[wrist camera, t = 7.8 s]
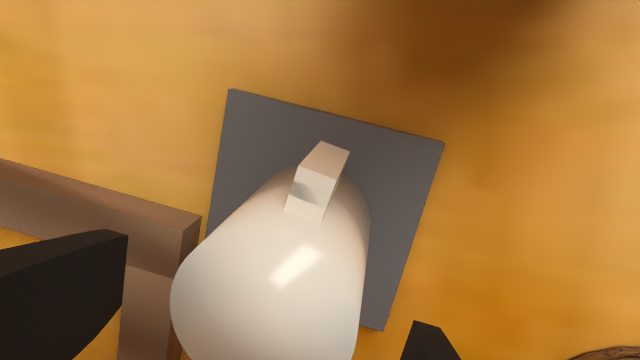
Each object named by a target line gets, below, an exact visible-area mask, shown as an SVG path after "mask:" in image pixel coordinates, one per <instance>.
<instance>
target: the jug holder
mask: <svg viewBox="0 0 640 360" xmlns="http://www.w3.org/2000/svg"><path fill="white" fill-rule="evenodd" d="M200 223H201V216H199V215H196V214H192V213H189V212H185V211H182V210H178V209H175V208H171V207H168V206H164V205H161V204H157V203H154V202H150V201H147V200H143V199H140V198H136V197H133V196H129V195H126V194H123V193H119V192H116V191H112V190H109V189H105V188H102V187H98V186H95V185H91V184H88V183H84V182H81V181H77V180H74V179H70V178H67V177H63V176H60V175H56V174H53V173H49V172H46V171H43V170H39V169H36V168H32V167H29V166H25V165H22V164H18V163H15V162H11V161H8V160H4V159H1V158H0V226H1V227H4V228H7V229H11V230H14V231H17V232H20V233H24V234H27V235H30V236H33V237H37V238H40V239H43V240H48V239H53V238H57V237H62V236H67V235H71V234H76V233H81V232H87V231H92V230H100V229H109V230H112V231H116V232H119V233H122V234H126V235H129V236H128V247H127V257H126V268H125V278H124V289H123V300H122V311H121V322H120V333H119V344H118V355H117V360H180V356H181V350H182V345H181V343H180V341H179V340H178V338H177V335H176V332H175V330H174V327H173V323H172V319H171V313H170V293H171V287H172V283H173V280H174V277H175V275H176V273H177V271H178V269H179V267H180V265H181V264H182V262H183V261H184V260H185V258H186V257H187V256H188V255H189V254H190V253H191V252H192V251H193V250H194V249H195V248H196V247H197V243H198V236H199V229H200Z"/></svg>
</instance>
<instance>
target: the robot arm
mask: <svg viewBox="0 0 640 360" xmlns="http://www.w3.org/2000/svg"><path fill="white" fill-rule="evenodd" d="M128 236H129V235H126V234H122V233H119V232H116V231H112V230H109V229H100V230H92V231H87V232H81V233H76V234H71V235H67V236H62V237H57V238H53V239H48V240H43V241H39V242H34V243H29V244H25V245H20V246H16V247H11V248H6V249H1V250H0V360H72V359H73V358H74V357H76V356H77V355H78V354H79V353H80V352H81V351H82V350H83V349H84V348H85V347H86V346H87V345H88V344H89V343H90V342H91V341H92V340H93V339H94V338H95V337H96V336H97V335H98V334H99V332H100V331H101V330H102V329H103V328H104V327H105V325H106V324H107V323H108V322H109V321H110V319H111V318H112V317H113V316H114V314H115V313H116V312H117V311H118V309H119V308H120V307H121V306H122V299H123V289H124V278H125V268H126V257H127V247H128ZM400 360H461V359H460V357H459V356H458V354H457V352H456V351H455V349H454V348H453V346H452V345H451V343H450V342H449V340H448V339H447V337H446V336H445V334H444V333H443V331H442V330H441V328H439V327H436V326H432V325H429V324H426V323H422V322H419V321H415V320H414V321H413V324H412V327H411V330H410V333H409V335H408V338H407V341H406V344H405V347H404V350H403V353H402V355H401V358H400Z"/></svg>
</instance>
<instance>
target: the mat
mask: <svg viewBox="0 0 640 360" xmlns="http://www.w3.org/2000/svg"><path fill="white" fill-rule="evenodd" d="M320 141H323V142H326V143H328V144H331V145H334V146H336V147H339V148H342V149H345V150H347V151H350V153H349V156H348V159H347V161H346V164H345V167H344V169H343V172H342V173H343V174H344V175H346V176H347V177H348V178H350V179H351V180H352V181H353V182H354V183H355V184H356V185H357V186H358V188H359V189H360V191H361V192H362V194H363V195H364V197H365V199H366V201H367V204H368V207H369V211H370V217H371V230H370V238H369V246H368V254H367V262H366V270H365V278H364V286H363V295H362V303H361V311H360V319H359V325H361V326H364V327H368V328H371V329H374V330H378V331H381V332H383V331H384V328H385V325H386V322H387V319H388V316H389V313H390V310H391V306H392V303H393V300H394V297H395V294H396V291H397V288H398V285H399V282H400V279H401V276H402V273H403V270H404V267H405V264H406V261H407V258H408V255H409V252H410V249H411V245H412V242H413V239H414V236H415V233H416V230H417V227H418V224H419V221H420V218H421V215H422V212H423V209H424V206H425V203H426V200H427V197H428V194H429V191H430V188H431V185H432V181H433V178H434V175H435V172H436V169H437V166H438V163H439V160H440V157H441V154H442V151H443V148H444V145H445V144H444V143H443V142H442V141H438V140H434V139H430V138H426V137H422V136H418V135H414V134H411V133H407V132H403V131H399V130H395V129H391V128H387V127H383V126H379V125H375V124H371V123H367V122H363V121H359V120H355V119H351V118H348V117H344V116H340V115H336V114H332V113H328V112H324V111H320V110H316V109H312V108H308V107H304V106H300V105H296V104H292V103H288V102H285V101H281V100H277V99H273V98H269V97H265V96H261V95H257V94H253V93H249V92H245V91H241V90H237V89H228V96H227V102H226V109H225V115H224V121H223V128H222V134H221V141H220V147H219V154H218V160H217V166H216V173H215V179H214V186H213V192H212V199H211V205H210V211H209V218H208V224H207V231H206V237H205V239H206V238H207V237H208V236H209V235H210V234H211V233H212V232H213V231H214V230H215V229H216V228H217V227H219V226H220V225H221V224H222V223H223V222H224V221H225V220H226V219H227V218H228V217H229V216H230V215H231V214H232V213H233V212H234V211H236V210H237V209H238V208H239V207H240V206H241V205H242V204H243V203H244V202H245V201H246V200H247V199H248V198H249V197H250V196H251V195H253V194H254V193H255V192H256V191H257V190H258V189H259V188H260V187H261V186H262V185H263V184H264V183H265V182H266V181H267V180H268V179H270V178H271V177H272V176H273V175H274V174H276V173H277V172H278V171H280V170H282V169H284V168H287V167H289V166H292V165H297V164H300V163H301V162H302V161H303V160H304V159H305V158H306V157H307V156H308V154H309V153H310V152H311V151H312V150H313V149H314V148H315V147H316V146H317V145H318V143H319V142H320Z"/></svg>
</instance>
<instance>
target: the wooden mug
mask: <svg viewBox="0 0 640 360" xmlns="http://www.w3.org/2000/svg"><path fill="white" fill-rule="evenodd" d="M573 360H640V347H616V348H611V349H606V350H601V351H596V352H591V353H587V354H584V355H582V356H580V357H577V358H575V359H573Z"/></svg>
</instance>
